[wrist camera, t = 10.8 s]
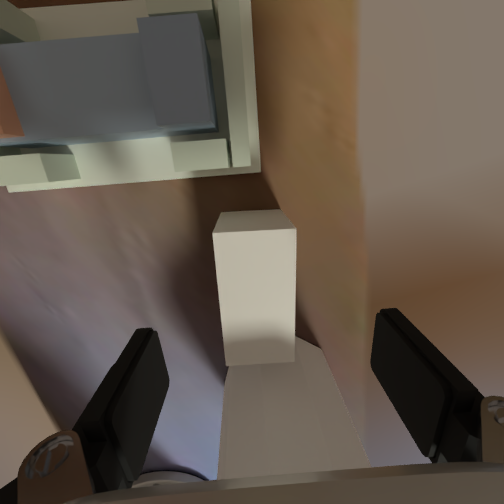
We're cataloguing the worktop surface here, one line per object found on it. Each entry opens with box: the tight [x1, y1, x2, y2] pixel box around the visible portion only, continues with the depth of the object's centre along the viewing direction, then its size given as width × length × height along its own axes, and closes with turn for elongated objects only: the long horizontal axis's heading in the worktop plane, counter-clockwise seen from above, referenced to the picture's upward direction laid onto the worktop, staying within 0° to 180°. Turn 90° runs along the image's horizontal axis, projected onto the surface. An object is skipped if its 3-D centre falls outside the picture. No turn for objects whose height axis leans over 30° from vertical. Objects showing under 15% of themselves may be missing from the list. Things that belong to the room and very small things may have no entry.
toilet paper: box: [217, 336, 371, 480], centre depth 19 cm, size 10×10×12 cm
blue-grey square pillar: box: [0, 13, 219, 148], centre depth 13 cm, size 4×12×5 cm, turn 95°
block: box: [212, 209, 296, 366], centre depth 18 cm, size 9×4×6 cm, turn 3°
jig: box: [0, 0, 261, 192], centre depth 14 cm, size 10×17×4 cm, turn 94°
